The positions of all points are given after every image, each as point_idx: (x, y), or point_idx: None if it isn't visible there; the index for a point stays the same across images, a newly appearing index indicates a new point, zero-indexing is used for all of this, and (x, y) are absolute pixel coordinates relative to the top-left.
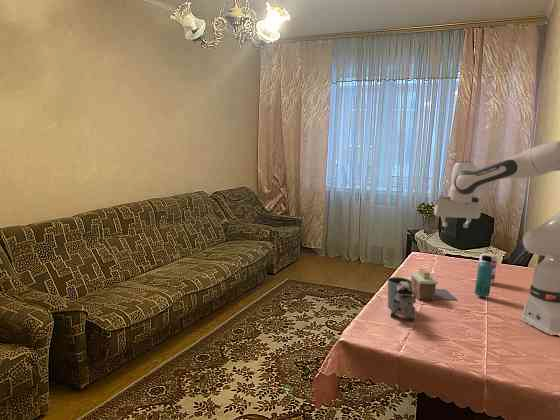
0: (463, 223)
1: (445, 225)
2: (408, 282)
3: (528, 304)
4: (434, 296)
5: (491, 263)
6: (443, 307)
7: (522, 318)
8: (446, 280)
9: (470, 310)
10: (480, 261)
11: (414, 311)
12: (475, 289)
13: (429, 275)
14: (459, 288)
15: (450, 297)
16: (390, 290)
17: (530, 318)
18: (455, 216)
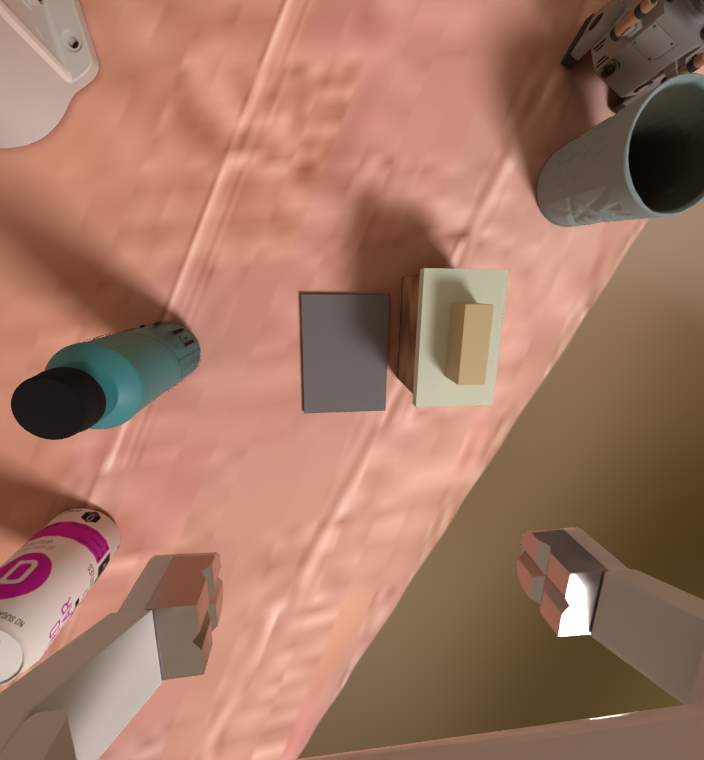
0: (204, 667)
1: (565, 536)
2: (619, 170)
3: (3, 2)
4: (407, 276)
5: (3, 583)
6: (392, 205)
7: (85, 42)
8: (254, 526)
9: (290, 178)
10: (60, 609)
11: (602, 16)
12: (195, 357)
13: (460, 304)
14: (234, 441)
15: (321, 317)
16: (683, 143)
17: (44, 18)
18: (578, 757)
